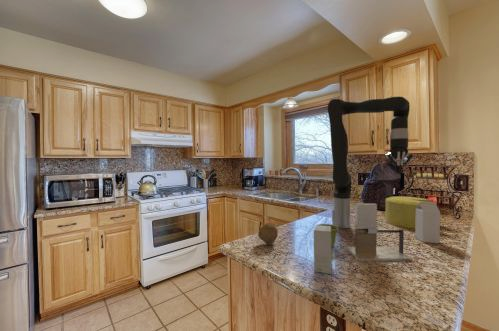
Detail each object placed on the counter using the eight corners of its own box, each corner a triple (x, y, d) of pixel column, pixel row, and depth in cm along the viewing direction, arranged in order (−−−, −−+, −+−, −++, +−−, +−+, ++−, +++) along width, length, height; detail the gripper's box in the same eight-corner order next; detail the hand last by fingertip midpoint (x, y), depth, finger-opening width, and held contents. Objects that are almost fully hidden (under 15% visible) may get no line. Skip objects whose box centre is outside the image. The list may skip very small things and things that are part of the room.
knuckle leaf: (357, 233, 93) (358, 204, 92) (354, 231, 96) (355, 203, 95) (377, 233, 93) (377, 204, 92) (373, 231, 95) (373, 203, 95)
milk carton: (439, 243, 107) (440, 203, 106) (422, 242, 108) (423, 203, 108) (430, 238, 114) (431, 200, 113) (415, 237, 115) (415, 200, 115)
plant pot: (337, 243, 107) (338, 225, 107) (338, 250, 98) (339, 230, 98) (317, 240, 110) (317, 223, 110) (316, 247, 101) (316, 228, 101)
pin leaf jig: (358, 260, 88) (359, 233, 88) (345, 248, 100) (346, 224, 100) (412, 261, 88) (413, 233, 88) (393, 248, 100) (393, 224, 100)
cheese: (448, 229, 129) (449, 203, 128) (402, 229, 129) (402, 203, 129) (415, 217, 155) (415, 195, 154) (377, 217, 155) (377, 195, 155)
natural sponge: (255, 246, 103) (255, 224, 103) (261, 240, 111) (261, 220, 111) (275, 249, 100) (275, 227, 99) (279, 242, 108) (279, 221, 108)
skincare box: (331, 274, 78) (331, 232, 77) (313, 271, 80) (313, 230, 80) (331, 264, 86) (332, 225, 85) (315, 261, 88) (315, 223, 87)
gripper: (390, 137, 108) (389, 173, 108) (418, 137, 108) (417, 173, 108) (381, 139, 115) (380, 172, 116) (407, 139, 115) (406, 172, 116)
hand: (398, 173), depth 112 cm, fingers closed
